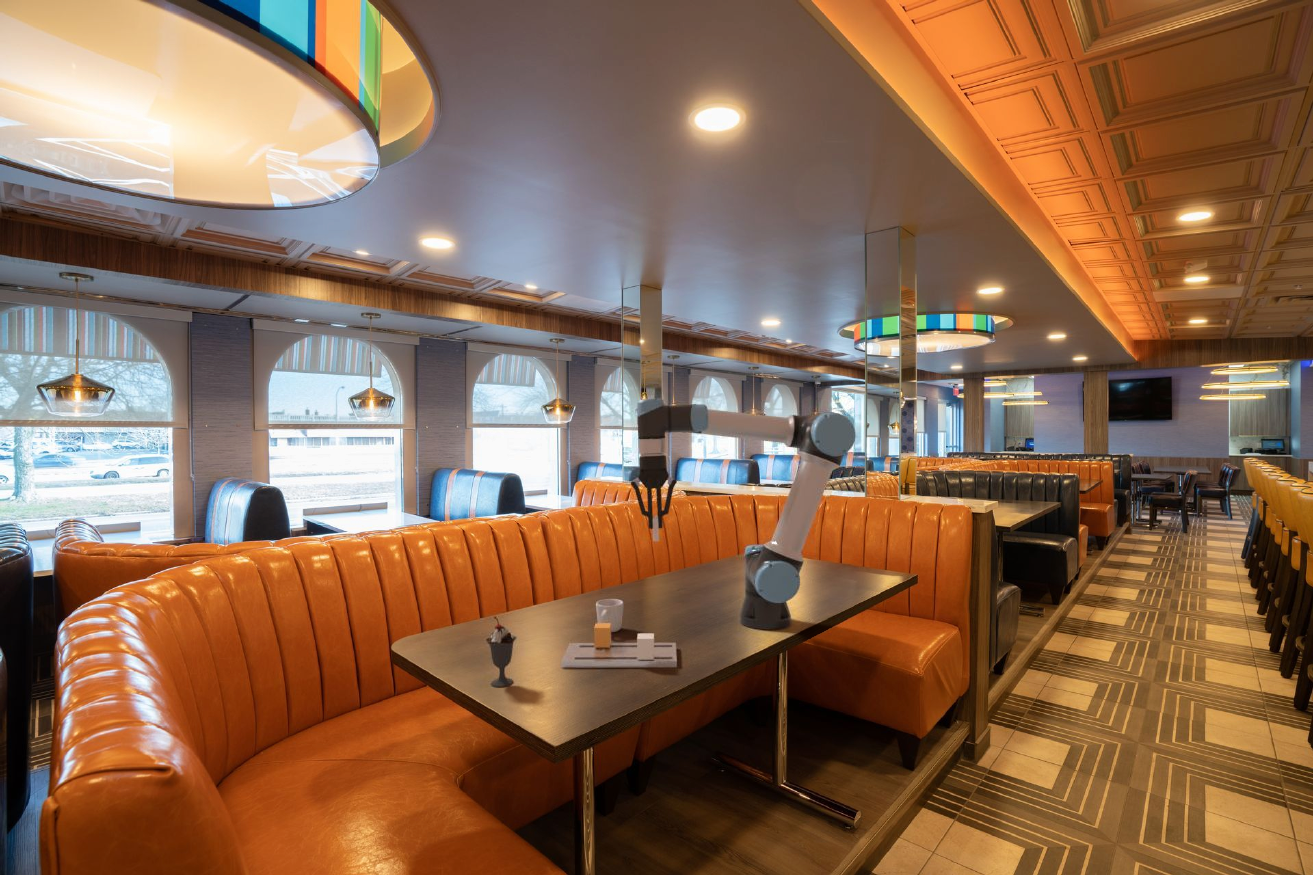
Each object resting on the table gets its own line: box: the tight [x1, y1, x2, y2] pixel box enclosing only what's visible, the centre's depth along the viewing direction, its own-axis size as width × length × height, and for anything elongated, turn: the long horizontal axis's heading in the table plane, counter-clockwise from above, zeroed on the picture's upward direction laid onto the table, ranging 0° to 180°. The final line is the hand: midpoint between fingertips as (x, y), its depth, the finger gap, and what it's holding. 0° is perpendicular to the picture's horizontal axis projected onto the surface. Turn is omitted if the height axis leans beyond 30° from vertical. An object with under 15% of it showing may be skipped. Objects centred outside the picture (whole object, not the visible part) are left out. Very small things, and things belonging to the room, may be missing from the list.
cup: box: [595, 598, 624, 633], centre depth 175 cm, size 11×8×8 cm
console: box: [560, 642, 678, 669], centre depth 154 cm, size 28×13×2 cm, turn 89°
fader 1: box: [593, 622, 612, 647], centre depth 158 cm, size 4×4×5 cm
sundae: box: [485, 615, 517, 688], centre depth 139 cm, size 7×7×15 cm
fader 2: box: [636, 632, 655, 660], centre depth 150 cm, size 4×4×5 cm
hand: (656, 540), depth 168 cm, fingers closed
